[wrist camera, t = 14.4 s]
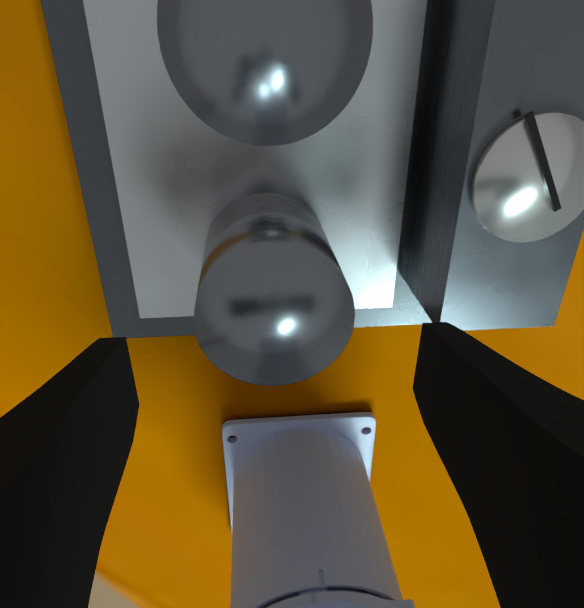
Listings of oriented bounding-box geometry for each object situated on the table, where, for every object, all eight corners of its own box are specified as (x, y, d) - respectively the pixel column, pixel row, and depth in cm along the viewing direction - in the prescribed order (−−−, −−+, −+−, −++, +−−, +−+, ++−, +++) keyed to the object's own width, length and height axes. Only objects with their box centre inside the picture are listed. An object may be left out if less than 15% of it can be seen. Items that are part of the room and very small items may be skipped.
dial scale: (468, 305, 23) (541, 392, 17) (121, 320, 21) (78, 419, 16) (550, -104, 15) (725, -186, 10) (33, -115, 14) (-103, -216, 9)
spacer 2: (326, 301, 19) (352, 378, 15) (211, 309, 19) (203, 391, 14) (327, 189, 17) (357, 240, 12) (197, 196, 16) (182, 251, 12)
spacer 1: (331, 115, 16) (365, 144, 11) (191, 116, 15) (170, 147, 11) (337, -55, 13) (382, -101, 9) (175, -58, 13) (141, -107, 9)
